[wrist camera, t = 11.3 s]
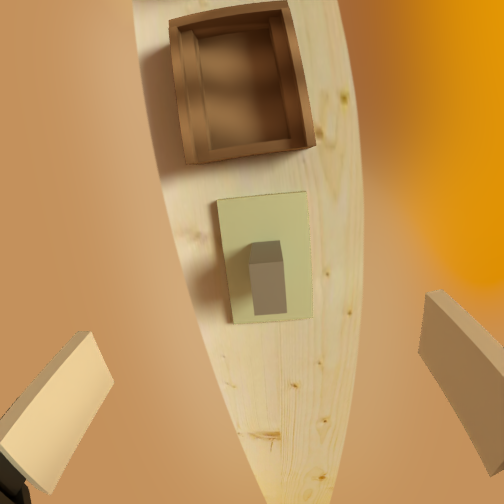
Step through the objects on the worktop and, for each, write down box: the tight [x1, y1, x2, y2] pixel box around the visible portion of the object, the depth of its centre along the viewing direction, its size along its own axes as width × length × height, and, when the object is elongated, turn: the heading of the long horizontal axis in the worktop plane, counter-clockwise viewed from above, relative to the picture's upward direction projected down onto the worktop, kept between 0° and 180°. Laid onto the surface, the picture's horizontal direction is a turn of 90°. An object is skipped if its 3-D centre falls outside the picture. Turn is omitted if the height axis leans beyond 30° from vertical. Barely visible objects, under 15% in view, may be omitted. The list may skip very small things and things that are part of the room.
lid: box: [217, 191, 313, 324], centre depth 31 cm, size 15×10×9 cm, turn 6°
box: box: [169, 0, 316, 165], centre depth 27 cm, size 16×12×6 cm
